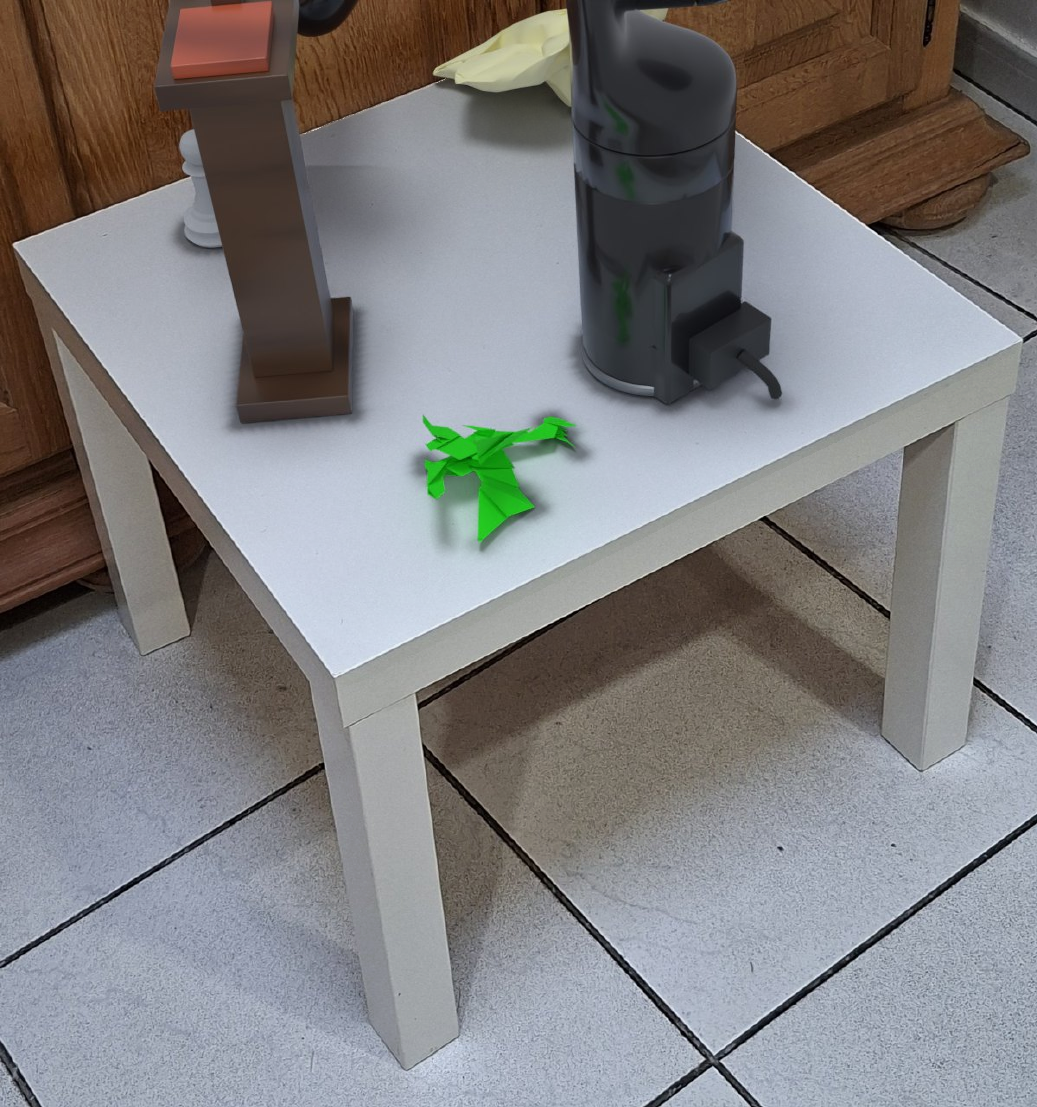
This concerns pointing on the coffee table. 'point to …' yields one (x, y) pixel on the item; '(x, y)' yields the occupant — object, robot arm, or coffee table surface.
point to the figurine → (486, 466)
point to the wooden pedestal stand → (267, 228)
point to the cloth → (522, 56)
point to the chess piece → (198, 197)
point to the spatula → (223, 39)
